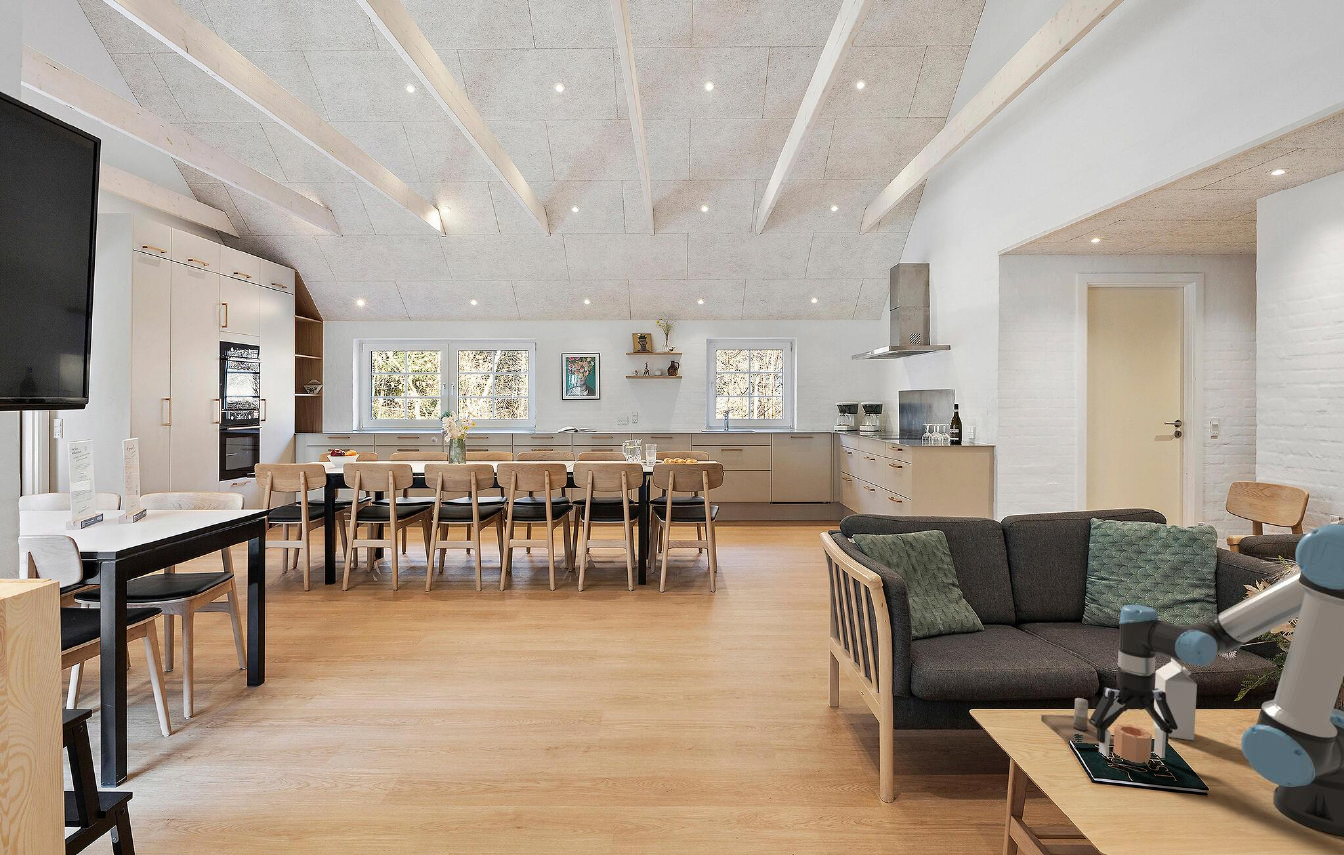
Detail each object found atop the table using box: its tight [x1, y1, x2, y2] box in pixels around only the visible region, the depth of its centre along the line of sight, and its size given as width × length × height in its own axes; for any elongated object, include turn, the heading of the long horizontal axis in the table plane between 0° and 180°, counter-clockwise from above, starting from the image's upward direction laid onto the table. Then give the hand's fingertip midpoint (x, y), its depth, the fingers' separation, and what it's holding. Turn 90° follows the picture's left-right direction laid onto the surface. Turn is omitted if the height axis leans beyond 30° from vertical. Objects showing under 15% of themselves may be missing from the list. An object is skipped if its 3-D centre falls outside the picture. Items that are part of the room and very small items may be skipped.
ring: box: [1112, 724, 1153, 763], centre depth 173 cm, size 7×7×7 cm
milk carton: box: [1152, 657, 1198, 741], centre depth 188 cm, size 7×7×19 cm
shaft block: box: [1040, 697, 1114, 745], centre depth 186 cm, size 16×12×9 cm
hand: (1131, 756), depth 173 cm, fingers open, 13 cm apart
